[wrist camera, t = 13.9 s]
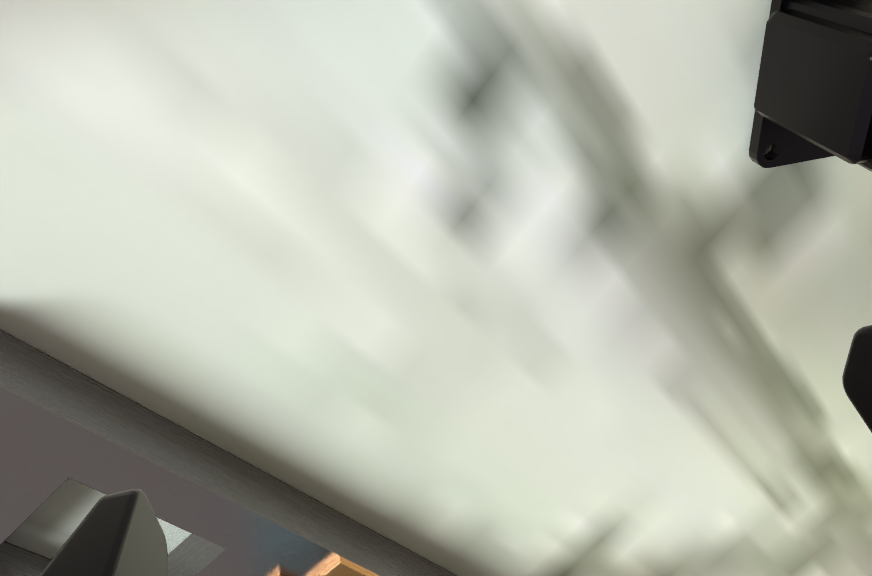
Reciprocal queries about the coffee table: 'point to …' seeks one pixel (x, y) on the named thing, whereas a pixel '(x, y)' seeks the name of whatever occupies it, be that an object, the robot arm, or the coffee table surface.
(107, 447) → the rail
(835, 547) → the coffee table surface
